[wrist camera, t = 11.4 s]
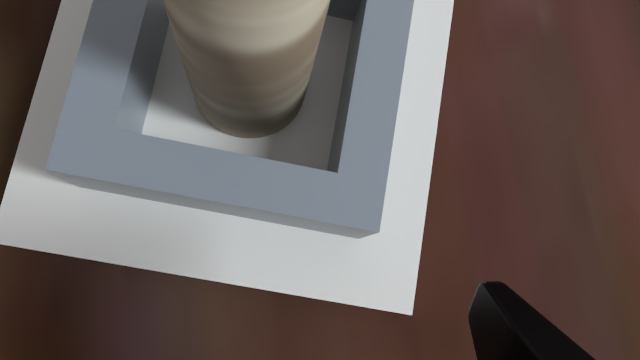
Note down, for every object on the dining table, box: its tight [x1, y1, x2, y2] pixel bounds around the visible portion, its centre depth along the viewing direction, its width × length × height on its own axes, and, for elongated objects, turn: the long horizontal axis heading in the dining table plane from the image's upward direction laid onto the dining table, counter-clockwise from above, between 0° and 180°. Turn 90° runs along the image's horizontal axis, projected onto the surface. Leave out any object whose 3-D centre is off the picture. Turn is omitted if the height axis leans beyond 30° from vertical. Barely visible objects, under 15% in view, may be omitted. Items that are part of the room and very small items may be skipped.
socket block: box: [0, 0, 454, 315], centre depth 18 cm, size 14×14×4 cm
